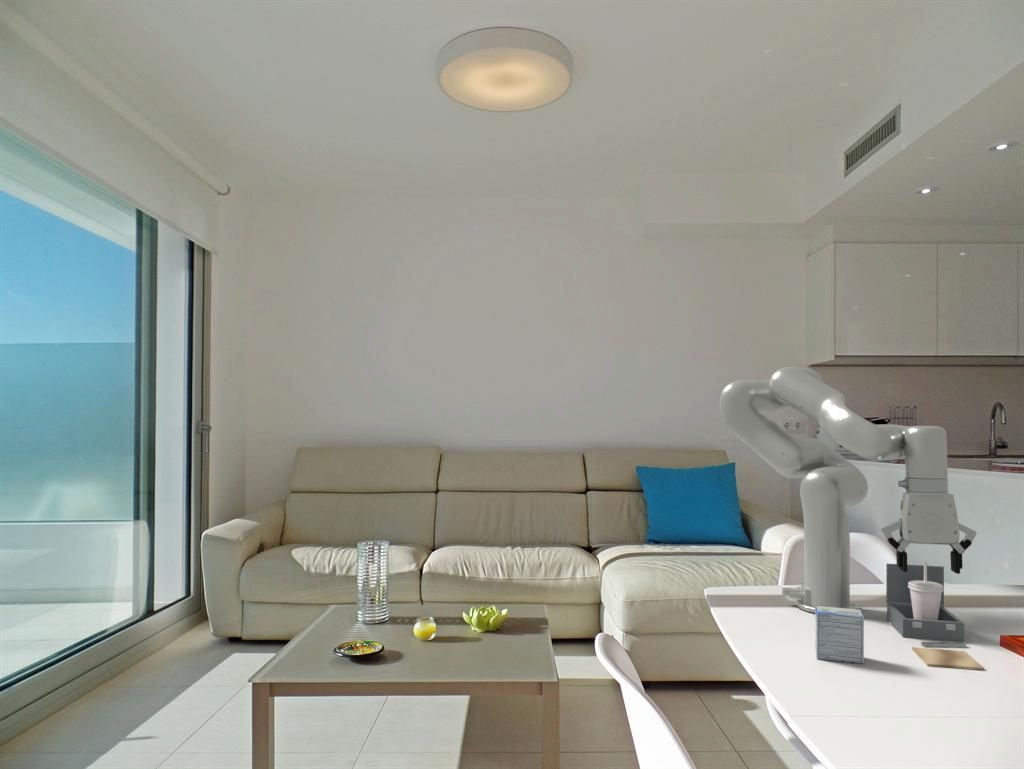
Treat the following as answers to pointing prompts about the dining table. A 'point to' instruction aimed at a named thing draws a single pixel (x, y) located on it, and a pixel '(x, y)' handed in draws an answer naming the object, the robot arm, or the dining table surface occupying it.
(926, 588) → the smoothie
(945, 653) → the pad
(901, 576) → the case
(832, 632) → the medicine box
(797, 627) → the dining table surface
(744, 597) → the dining table surface
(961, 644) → the rod
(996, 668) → the dining table surface
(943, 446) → the robot arm
